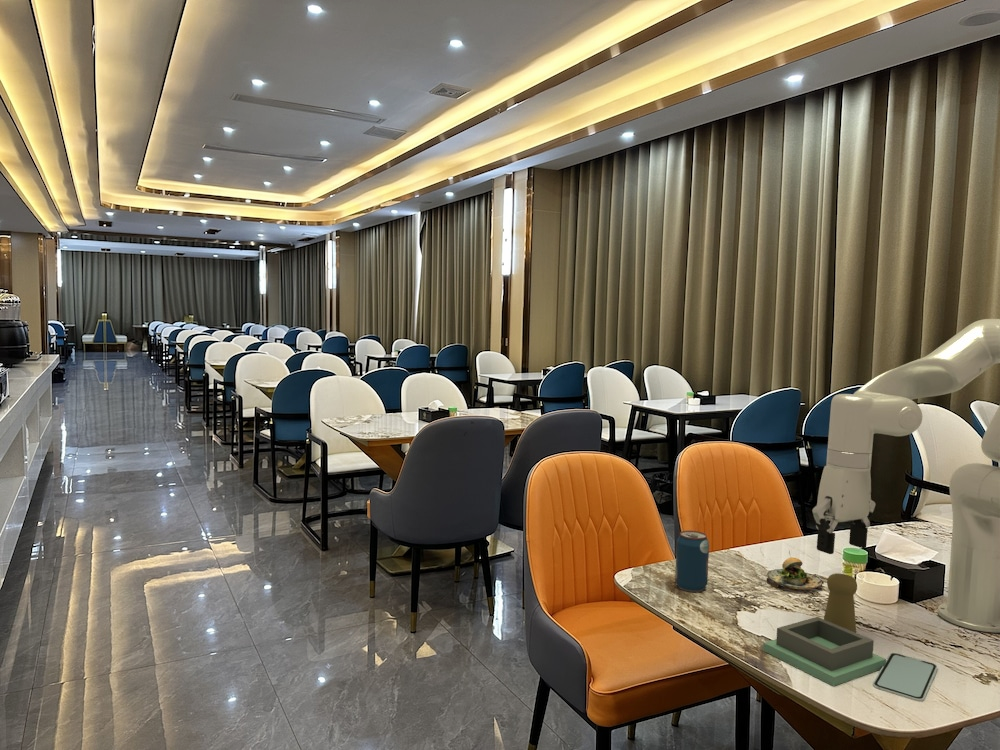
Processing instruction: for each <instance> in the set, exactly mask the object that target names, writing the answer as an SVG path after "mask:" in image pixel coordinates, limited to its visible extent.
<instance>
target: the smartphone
mask: <svg viewBox="0 0 1000 750" xmlns="http://www.w3.org/2000/svg"><path fill="white" fill-rule="evenodd" d="M937 672H938V664H936V663H934V662H930V661H926V660H924V659H920V658H915V657H912V656H908V655H904V654H902V653H901V654H900V653H897V652H890V653H889V655H888V656H887V658H886V665H884V666H882V668H881V669H880V670H879V672H878V673H877V675H876V677H875V678H874V680H873V682H872V687H874V688H875V689H877V690H880V691H884V692H886V693H889V694H892V695H895V696H896V695H897V696H899V697H903V698H906V699H908V700H909V699H910V700H913V701H915V702H924V701H925V699H926V698H927V695H928V692H929V690H930V688H931V686H932V683H933V681H934V679H935V677H936V674H937Z"/></svg>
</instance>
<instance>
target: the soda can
mask: <svg viewBox="0 0 1000 750" xmlns="http://www.w3.org/2000/svg"><path fill="white" fill-rule="evenodd" d="M709 556H710V542H709V540H708V536H707V534H706V533H705V532H701V531H698V530H682V531H680V532H679V535H678V537H677V539H676V549H675V570H674V571H675V575H674V577H675V578H674V580H675V583H676V585H677V587H678V588H679V589H680V590H683V591H686V592H690V593H698V592H702V591H704V590H705V589H706V588H707V585H708V582H709V581H708V579H709V577H708V576H709V560H710V559H709Z"/></svg>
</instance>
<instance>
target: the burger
mask: <svg viewBox="0 0 1000 750" xmlns="http://www.w3.org/2000/svg"><path fill="white" fill-rule="evenodd" d="M788 553H789V555H791V553H790V550H789V551H788ZM802 566H803V561H802V560H801V559H799V558H797V557H791V556H790V557H788V558H786V559H785V560H784V562H783V563H782V564H781V567H782V568H780V569H778V568H777V569H772V570H770V571H768V572H767V574H766V576H767V578H766V583H767V584H768V585H769V586H772V587H773V588H774V589H778V586H782V587H783V588H784V587H786V588H789V589H793V590H805V591H806V590H812V589H816V588H817V587H822V586H823V585H824V584H825V582H824V580H823V579H821V578H820V577H819V576H817V575H816V574H815V575H814V574H811V573H809V572H805V570H804V569H803V568H802Z"/></svg>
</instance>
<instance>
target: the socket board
mask: <svg viewBox="0 0 1000 750" xmlns="http://www.w3.org/2000/svg"><path fill="white" fill-rule="evenodd" d="M874 641H875V640H874V639H872V638H870V637H867V636H864V635H862V634H859V633H858V632H857V633H855V632H853V631H850V630H848V629H845V628H843V627H841V626H838V625H836V624H833V623H831V622H829V621H826V620H824V618H821V617H818V616H816V617H812V618H808V619H805V620H801V621H798V622H794V623H789V624H786V625H783V626H780V627H777V629H776V638H775V639H771V640H768V641H765V642H763V647H762V648H763V649H762V651H763V652H764V653H766V654H769V655H770V656H773V657H775V658H777V659H778V660H780V661H782V662H785V663H786V664H788V665H790V666H793V667H795V668H797V669H798V670H800V671H803V672H805V673H807V674H808V675H810V676H813V677H814V678H816V679H818V680H820V681H822V682H824V683H826V684H828V685H830V686H832V687H835V686H838V685H841V684H843V683H847V682H850V681H852V680H854V679H858V678H860V677H864V676H866V675H869V674H871V673H872V674H873V673H875V672H877V671H880V670H881V668H882V666H884V665H886V660H887V658H885V657H882V656H880V655H878V654H875V653H874Z"/></svg>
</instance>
